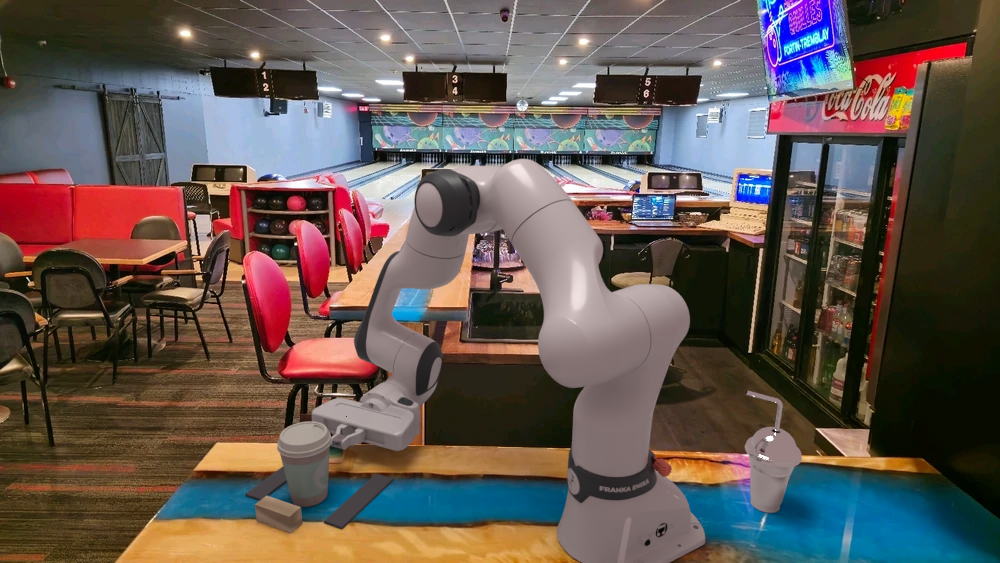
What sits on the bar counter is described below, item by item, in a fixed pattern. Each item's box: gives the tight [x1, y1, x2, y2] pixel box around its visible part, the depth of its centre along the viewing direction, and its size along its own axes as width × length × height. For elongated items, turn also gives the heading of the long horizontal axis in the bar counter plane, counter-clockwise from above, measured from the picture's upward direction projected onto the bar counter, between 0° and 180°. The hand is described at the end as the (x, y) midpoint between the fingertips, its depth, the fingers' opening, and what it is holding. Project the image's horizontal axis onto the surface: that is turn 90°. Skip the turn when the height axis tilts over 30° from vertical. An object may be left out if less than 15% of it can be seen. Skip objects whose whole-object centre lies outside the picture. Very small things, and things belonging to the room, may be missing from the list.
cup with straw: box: [744, 390, 803, 514], centre depth 100 cm, size 8×9×20 cm
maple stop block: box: [254, 495, 303, 534], centre depth 97 cm, size 2×7×3 cm, turn 65°
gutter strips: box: [245, 466, 394, 530], centre depth 106 cm, size 14×20×1 cm
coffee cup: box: [276, 420, 332, 508], centre depth 102 cm, size 8×8×12 cm
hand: (336, 444), depth 109 cm, fingers closed
